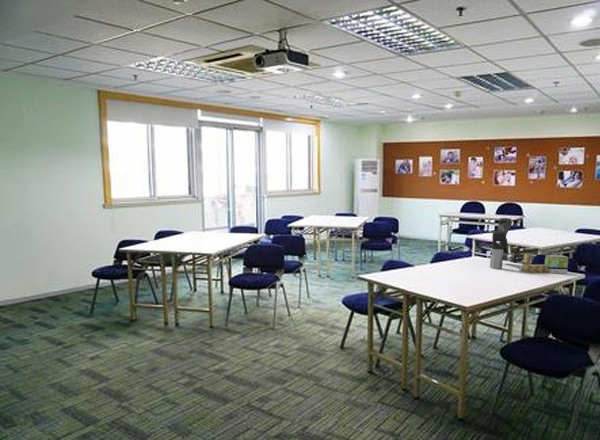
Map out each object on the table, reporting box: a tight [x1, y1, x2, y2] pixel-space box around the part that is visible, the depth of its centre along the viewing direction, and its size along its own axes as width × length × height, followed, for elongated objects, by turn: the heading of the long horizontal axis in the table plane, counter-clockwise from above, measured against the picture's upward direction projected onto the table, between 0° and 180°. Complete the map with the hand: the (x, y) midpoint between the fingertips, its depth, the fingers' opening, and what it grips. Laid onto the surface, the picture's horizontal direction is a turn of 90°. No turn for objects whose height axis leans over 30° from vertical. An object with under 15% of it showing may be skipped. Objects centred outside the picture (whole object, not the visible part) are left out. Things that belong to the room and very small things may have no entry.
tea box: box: [544, 254, 569, 274], centre depth 396 cm, size 15×10×15 cm, turn 97°
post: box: [523, 253, 532, 265], centre depth 404 cm, size 4×4×14 cm
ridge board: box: [519, 263, 551, 274], centre depth 394 cm, size 20×13×6 cm, turn 100°
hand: (524, 260), depth 407 cm, fingers open, 8 cm apart
